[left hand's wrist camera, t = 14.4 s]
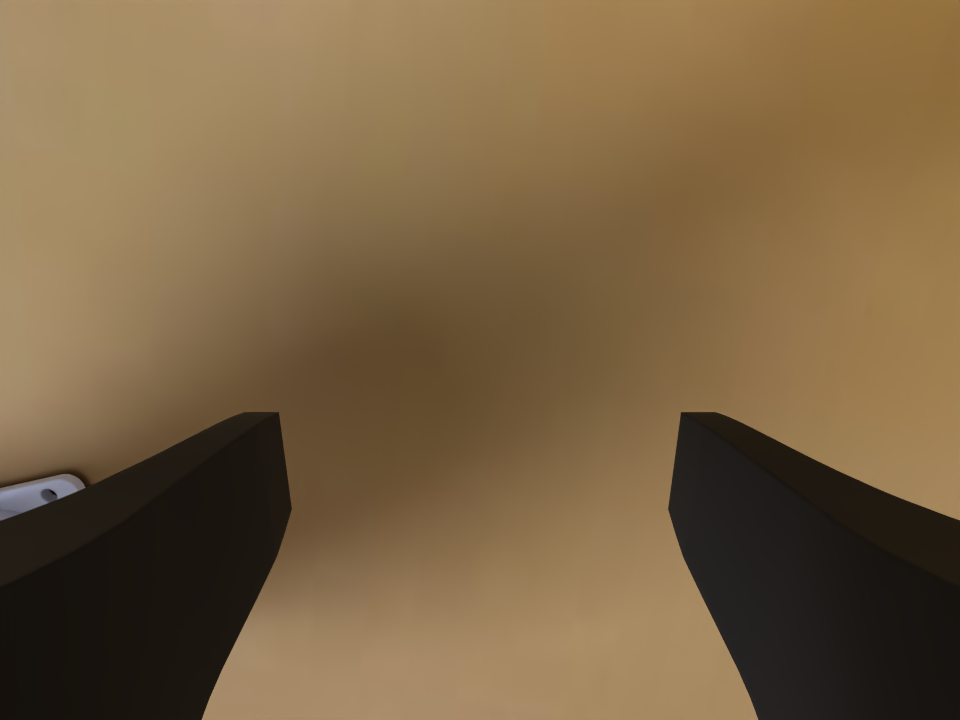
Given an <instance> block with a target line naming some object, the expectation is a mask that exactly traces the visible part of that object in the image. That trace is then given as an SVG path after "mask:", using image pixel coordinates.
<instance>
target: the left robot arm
mask: <svg viewBox="0 0 960 720" xmlns="http://www.w3.org/2000/svg"><path fill="white" fill-rule="evenodd" d="M49 489H50V490H52V491H54V492H55V493H56V494H57V496H56V495H54V494H52V493H51V492H50V490H49ZM291 510H292V507H291V500H290V492H289V485H288V477H287V470H286V462H285V455H284V447H283V440H282V432H281V425H280V417H279V412H244V413H241V414H238V415H235V416H233V417H231V418H228V419H226V420H224V421H222V422H220V423H218V424H215V425H213V426H211V427H209V428H207V429H205V430H203V431H201V432H200V433H198V434H196V435H194V436H192V437H190V438H188V439H186V440H184V441H182V442H180V443H178V444H176V445H174V446H172V447H170V448H168V449H166V450H164V451H162V452H160V453H158V454H156V455H154V456H152V457H150V458H148V459H146V460H144V461H142V462H140V463H138V464H136V465H134V466H131V467H129V468H127V469H125V470H123V471H121V472H119V473H117V474H114V475H112V476H110V477H108V478H106V479H104V480H102V481H100V482H97V483H95V484H93V485H91V486H88V487H86V488H85V486H84V484H83V483H82V481H81V480H80V479H79V478H77V477H76V476H73V475H70V474H61V475H57V476H52V477H48V478H43V479H39V480H34V481H30V482H25V483H21V484H16V485H12V486H7V487H3V488H0V720H202V717H203V714H204V711H205V709H206V706H207V703H208V701H209V698H210V696H211V693H212V691H213V689H214V686H215V684H216V682H217V680H218V677H219V675H220V673H221V671H222V668H223V666H224V664H225V662H226V660H227V658H228V656H229V654H230V652H231V650H232V648H233V646H234V644H235V642H236V640H237V638H238V636H239V634H240V632H241V630H242V628H243V626H244V624H245V622H246V620H247V618H248V615H249V613H250V611H251V609H252V607H253V605H254V603H255V601H256V599H257V597H258V595H259V593H260V591H261V589H262V587H263V585H264V583H265V581H266V578H267V576H268V574H269V572H270V570H271V568H272V566H273V564H274V562H275V559H276V557H277V554H278V551H279V548H280V545H281V542H282V539H283V537H284V533H285V530H286V527H287V523H288V520H289V517H290V513H291ZM668 510H669V513H670V517H671V520H672V523H673V527H674V530H675V533H676V537H677V539H678V542H679V545H680V548H681V551H682V554H683V557H684V559H685V562H686V564H687V566H688V568H689V570H690V572H691V574H692V576H693V578H694V581H695V583H696V585H697V587H698V589H699V591H700V593H701V595H702V597H703V599H704V601H705V603H706V605H707V607H708V609H709V611H710V613H711V615H712V618H713V620H714V622H715V624H716V626H717V628H718V630H719V632H720V634H721V636H722V638H723V640H724V642H725V644H726V646H727V648H728V650H729V652H730V654H731V656H732V658H733V660H734V662H735V664H736V666H737V668H738V671H739V673H740V675H741V677H742V680H743V682H744V684H745V686H746V689H747V691H748V693H749V696H750V698H751V701H752V703H753V706H754V709H755V711H756V714H757V717H758V720H960V520H957V519H954V518H951V517H948V516H946V515H943V514H940V513H938V512H935V511H932V510H930V509H927V508H925V507H922V506H919V505H917V504H914V503H911V502H909V501H906V500H903V499H901V498H898V497H896V496H893V495H891V494H889V493H886V492H884V491H881V490H879V489H877V488H874V487H872V486H870V485H868V484H865V483H863V482H861V481H859V480H857V479H854V478H852V477H850V476H848V475H846V474H843V473H841V472H839V471H837V470H835V469H833V468H831V467H828V466H826V465H824V464H822V463H820V462H818V461H816V460H814V459H812V458H810V457H808V456H806V455H804V454H802V453H800V452H798V451H796V450H794V449H792V448H790V447H788V446H786V445H784V444H782V443H780V442H778V441H776V440H775V439H773V438H771V437H769V436H767V435H765V434H763V433H761V432H759V431H757V430H755V429H753V428H751V427H749V426H747V425H745V424H743V423H741V422H739V421H736V420H734V419H732V418H730V417H727V416H725V415H722V414H719V413H716V412H681V417H680V425H679V432H678V440H677V447H676V455H675V462H674V470H673V477H672V485H671V492H670V500H669V507H668Z"/></svg>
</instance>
